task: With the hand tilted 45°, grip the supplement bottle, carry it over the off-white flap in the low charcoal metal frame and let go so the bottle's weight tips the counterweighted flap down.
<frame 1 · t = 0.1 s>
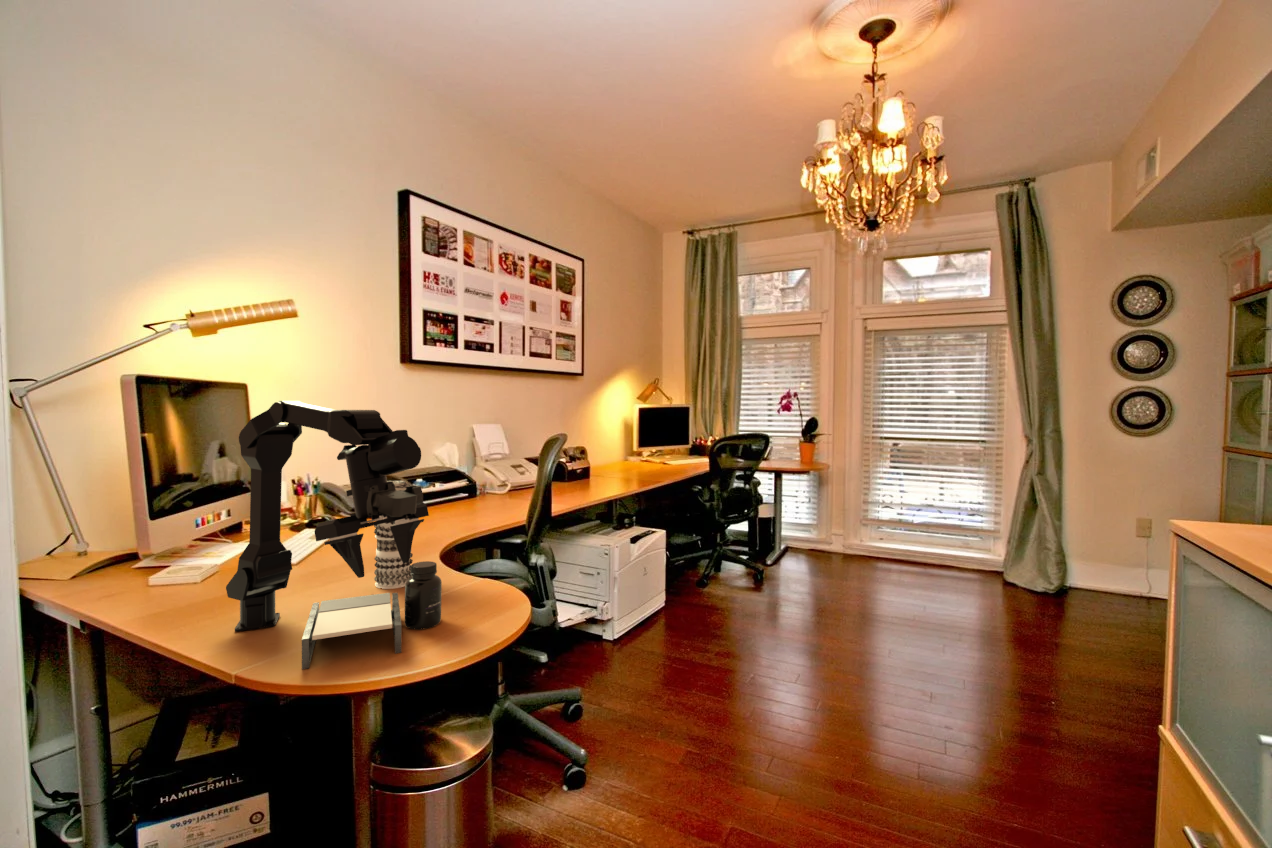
hand: (384, 569, 92), 15 cm above the table, tool pointing down, fingers open, 9 cm apart
supplement bottle: (423, 624, 107), on the table
decorative candle: (393, 584, 131), on the table
flap frame: (355, 635, 101), on the table
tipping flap: (355, 619, 99), point 4 cm above the table, hinge at 0.0°
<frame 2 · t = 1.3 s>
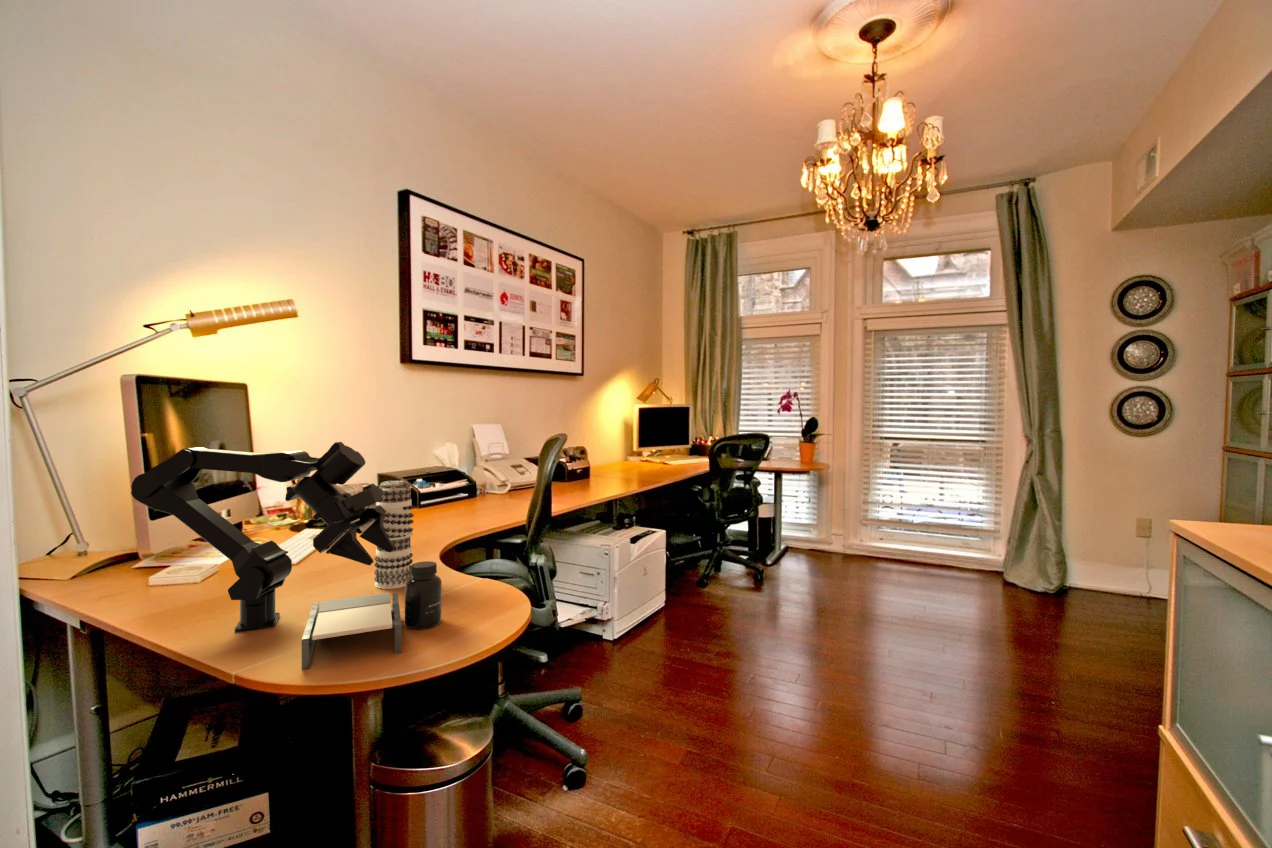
hand: (382, 556, 107), 13 cm above the table, tool tilted 45°, fingers open, 9 cm apart
nothing on the table moved.
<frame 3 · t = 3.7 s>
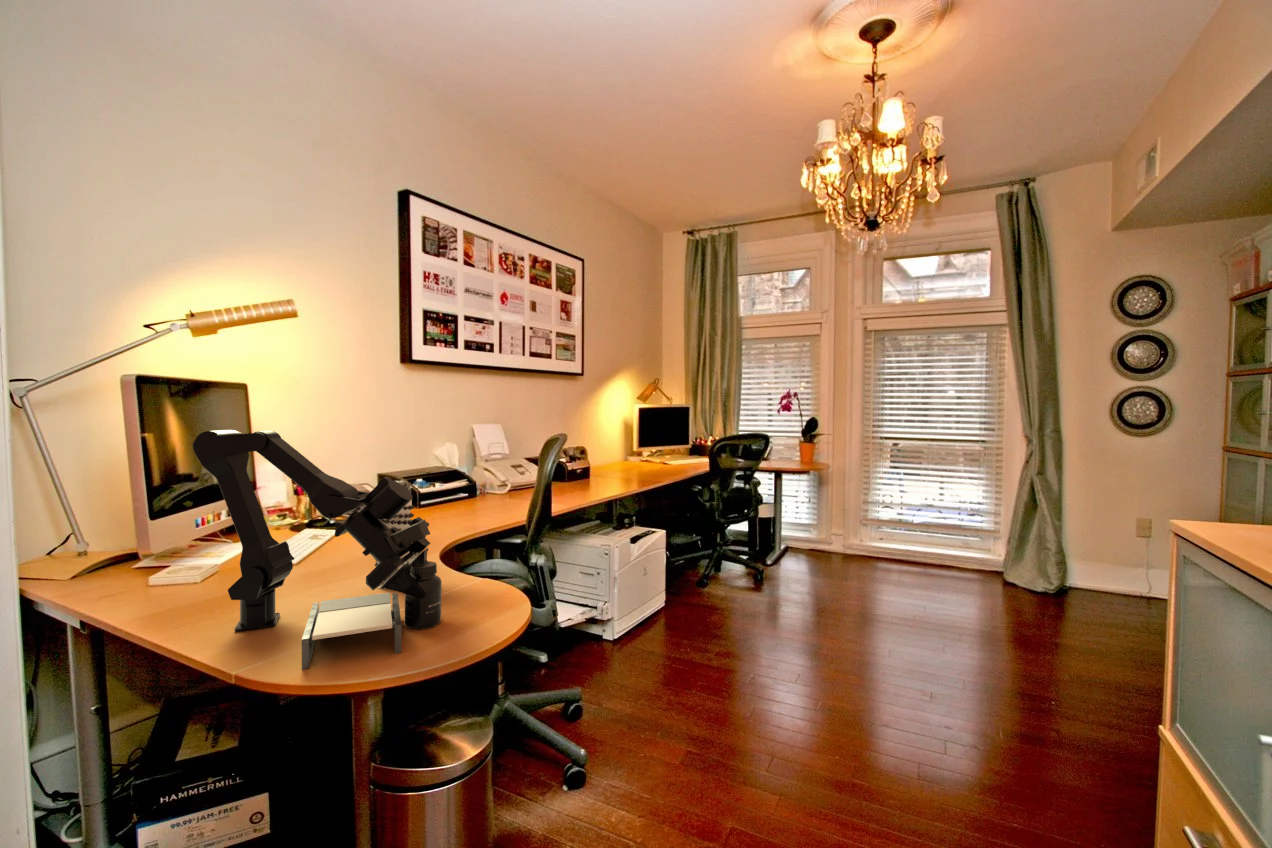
hand: (430, 590, 107), 7 cm above the table, tool tilted 45°, fingers closed on supplement bottle, 7 cm apart
supplement bottle: (423, 624, 107), on the table, touching gripper
everything else where it was.
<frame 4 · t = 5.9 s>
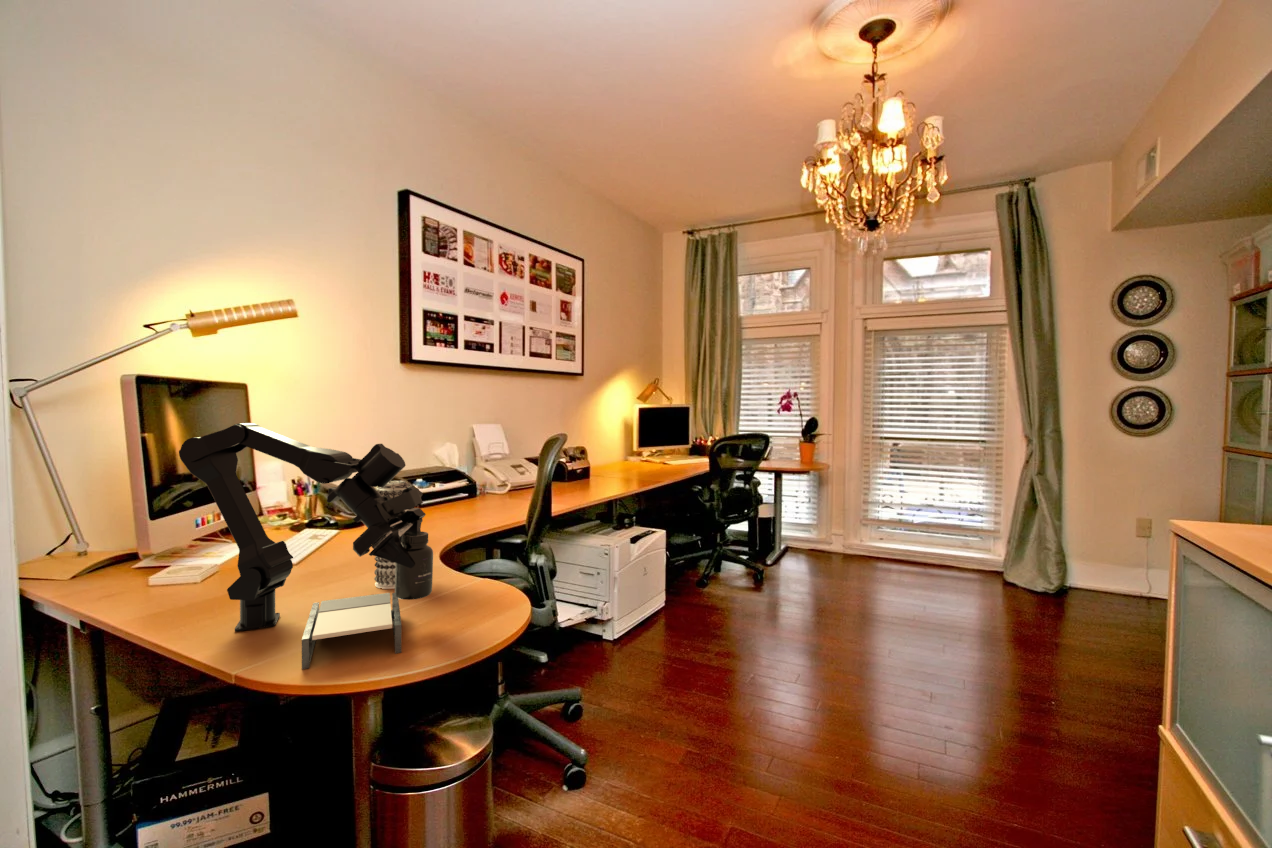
hand: (421, 561, 105), 13 cm above the table, tool tilted 45°, fingers closed on supplement bottle, 7 cm apart
supplement bottle: (413, 595, 105), point 6 cm above the table, touching gripper
everything else where it was.
when the fingers open (13 cm above the table, at t = 8.0 s): supplement bottle drops 3 cm, resting on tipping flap.
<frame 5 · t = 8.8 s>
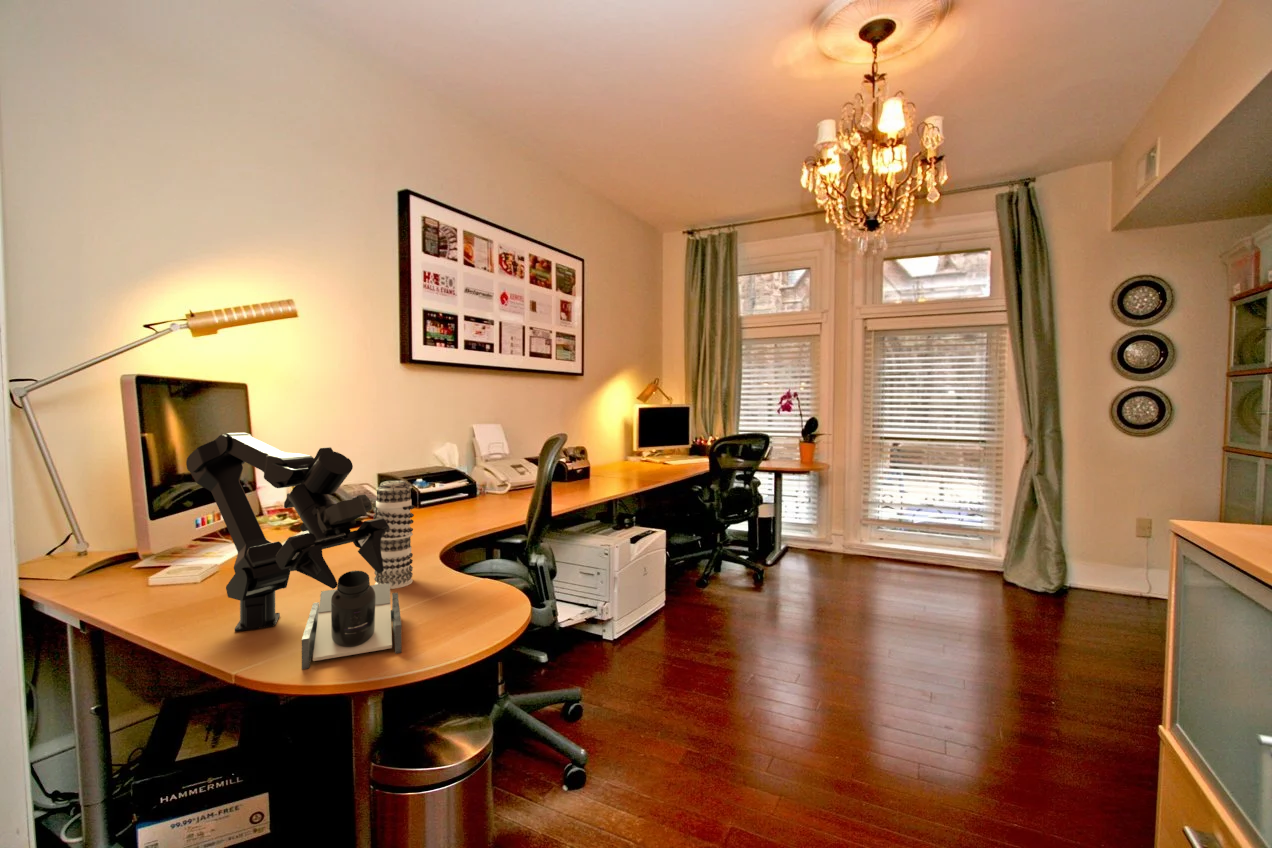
hand: (359, 579, 94), 13 cm above the table, tool tilted 45°, fingers open, 9 cm apart
supplement bottle: (353, 635, 95), point 3 cm above the table, touching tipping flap
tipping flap: (355, 623, 99), point 3 cm above the table, hinge at -20.9°, touching supplement bottle
everything else where it was.
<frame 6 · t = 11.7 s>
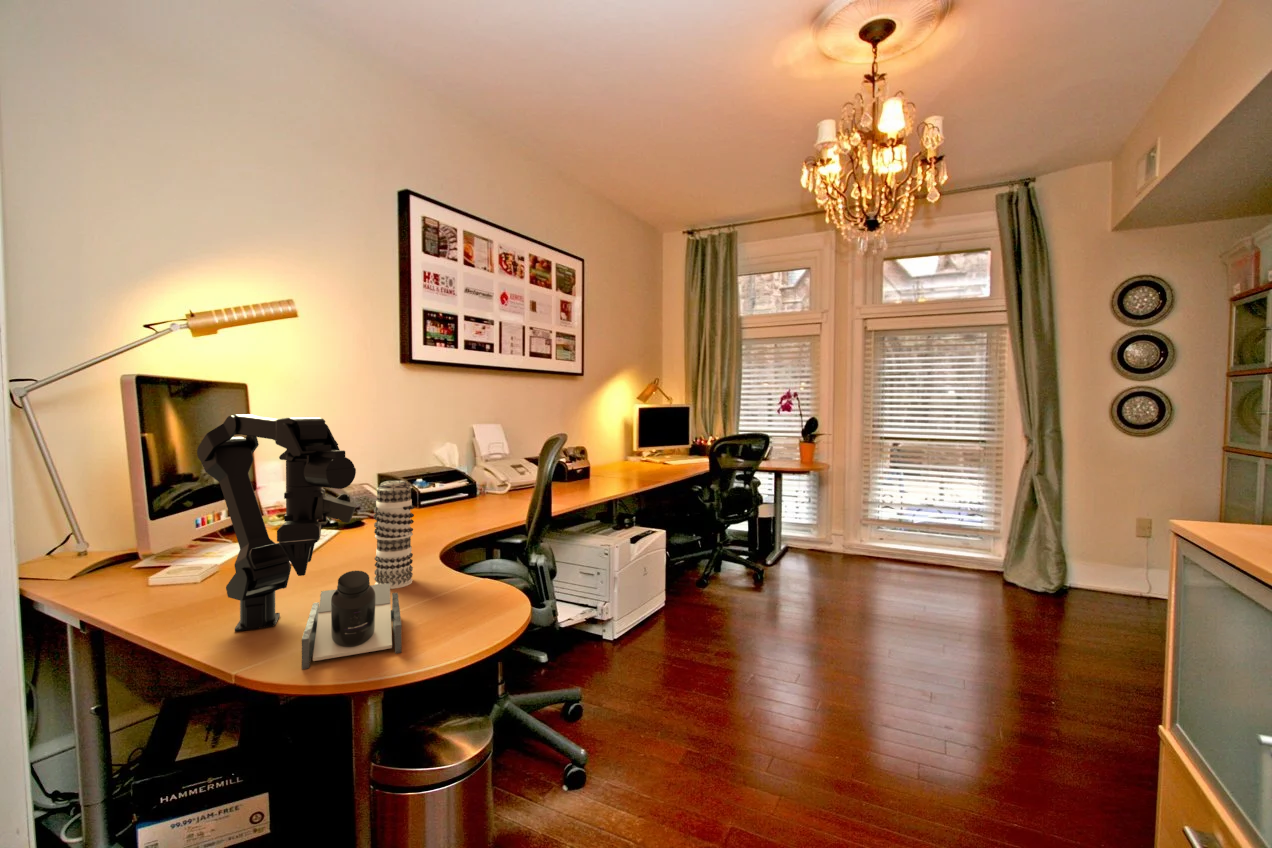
hand: (304, 568, 100), 13 cm above the table, tool pointing down, fingers open, 9 cm apart
nothing on the table moved.
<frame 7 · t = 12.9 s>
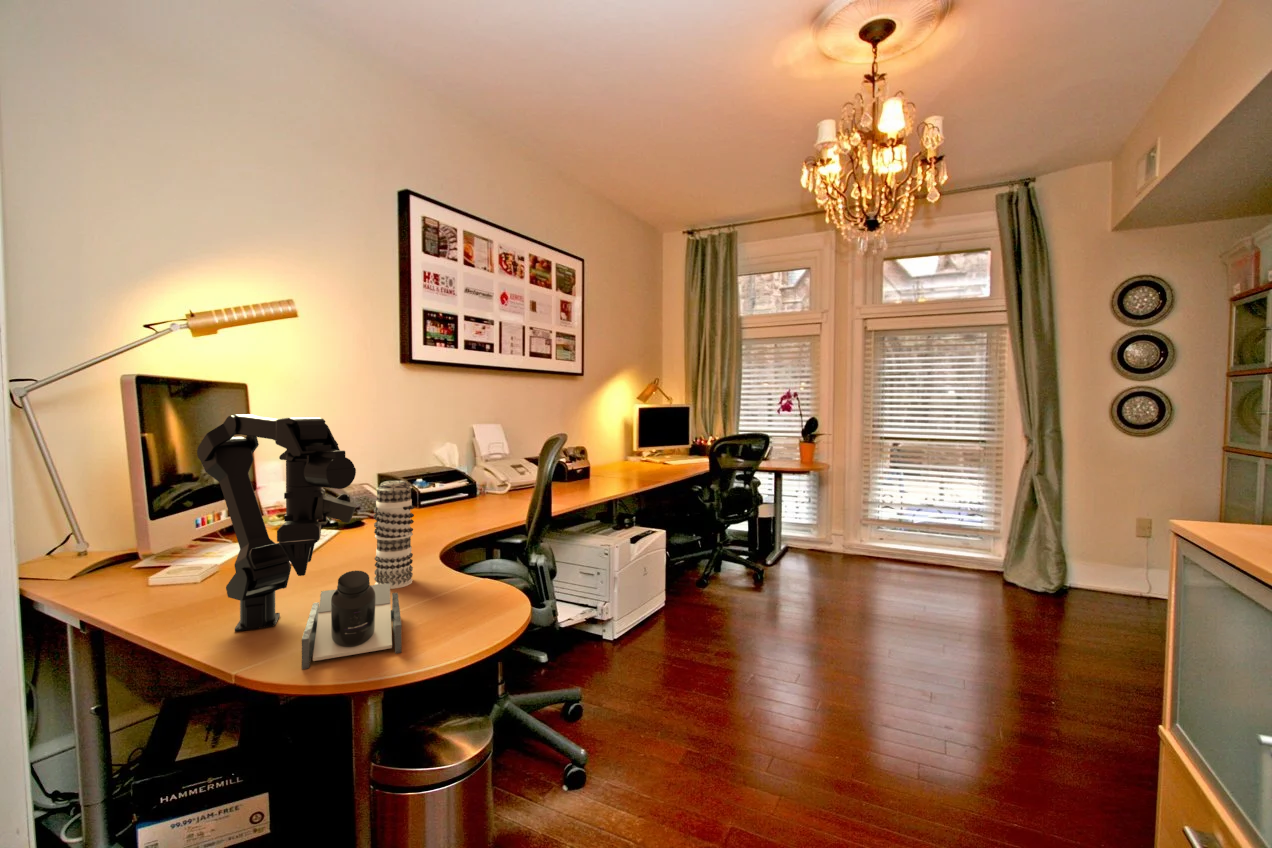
hand: (304, 568, 100), 13 cm above the table, tool pointing down, fingers open, 9 cm apart
nothing on the table moved.
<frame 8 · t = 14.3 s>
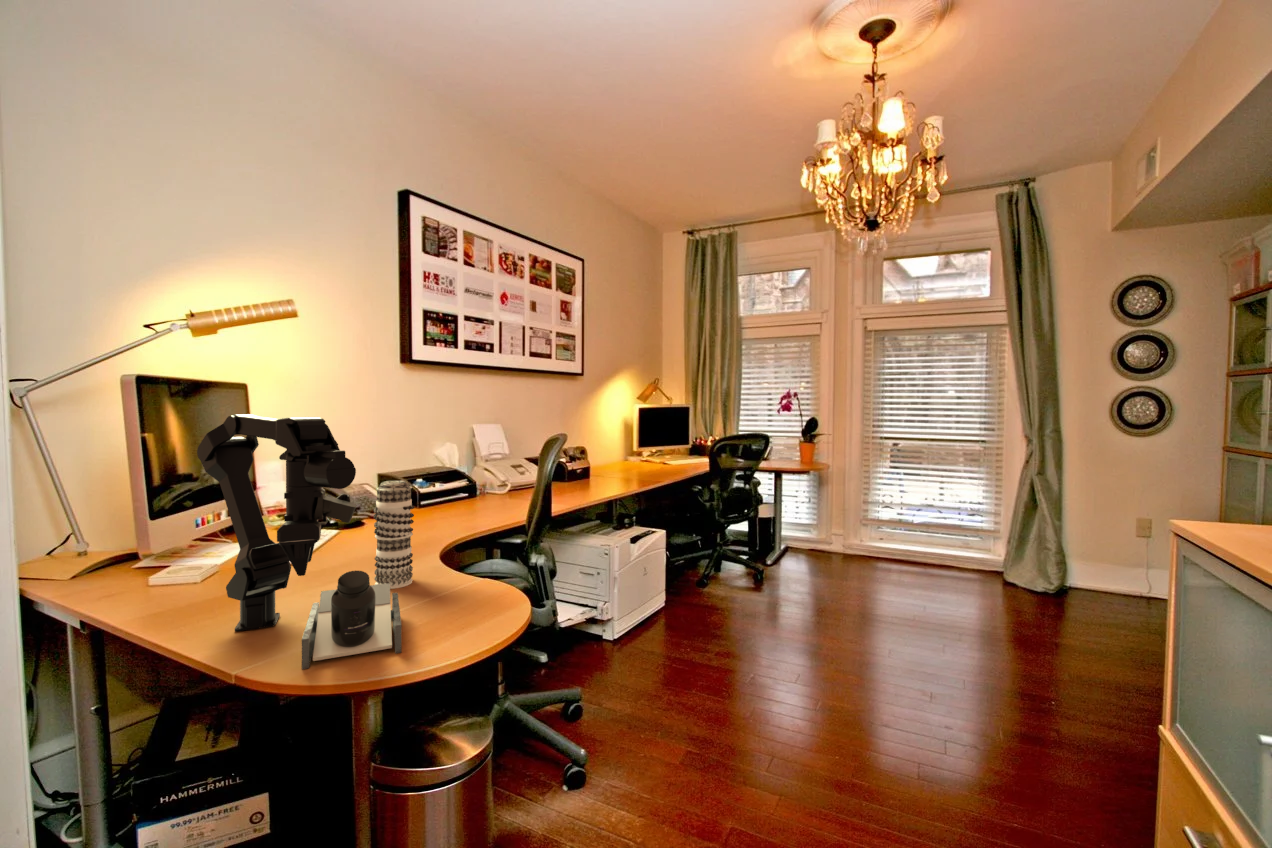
hand: (304, 568, 100), 13 cm above the table, tool pointing down, fingers open, 9 cm apart
nothing on the table moved.
at the end: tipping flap at -21° (first picture: +0°); supplement bottle point 2.7 cm above the table; the gripper is holding nothing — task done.
